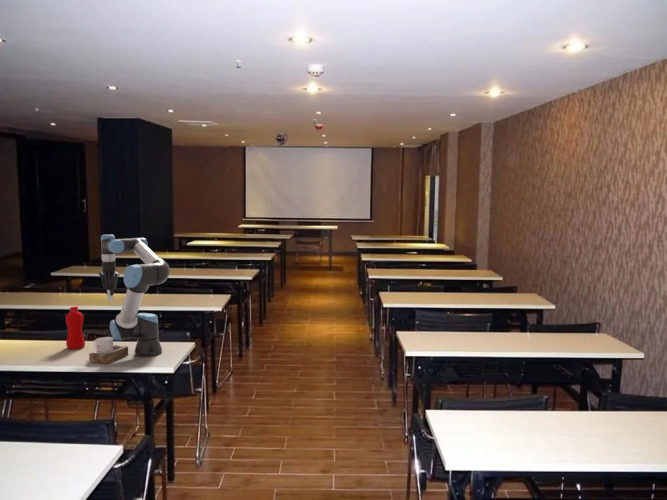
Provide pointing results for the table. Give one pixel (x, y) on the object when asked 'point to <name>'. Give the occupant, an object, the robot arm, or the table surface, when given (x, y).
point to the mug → (103, 345)
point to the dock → (109, 355)
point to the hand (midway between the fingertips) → (110, 300)
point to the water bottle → (74, 329)
